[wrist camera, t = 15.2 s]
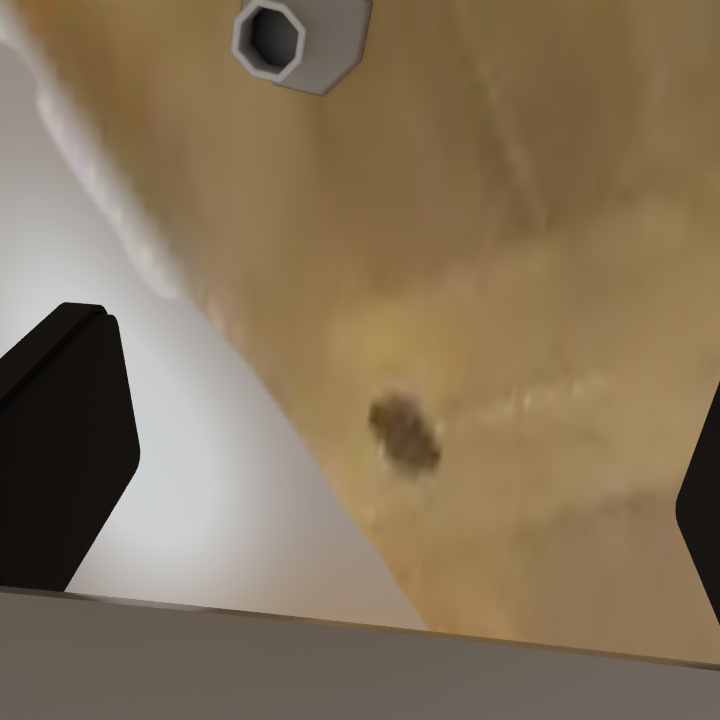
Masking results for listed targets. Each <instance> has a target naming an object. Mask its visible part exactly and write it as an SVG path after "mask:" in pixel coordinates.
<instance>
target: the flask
mask: <svg viewBox="0 0 720 720" xmlns="http://www.w3.org/2000/svg"><path fill="white" fill-rule="evenodd" d="M371 7H372V3H371V1H370V0H242V4H241V12H240V13H239V14H238V15H237V16H236V17H235V18H234V20H233V30H232V40H231V49H230V52H231V53H232V55H233V56H234V57H235V58H236V59H237V60H238V62H239V63H240V64H241V65H242V66H243V67H244V68H245V70H246V71H247V72H248V73H249V74H250V75H251V77H256V78H260V79H264V80H268V81H271V82H272V83H273V85H276V86H280V87H285V88H289V89H293V90H297V91H301V92H306V93H310V94H314V95H318V96H322V97H323V96H324V95H325V94H326V93H328V92H329V91H330V90H331V89H332V88H333V87H334V86H335V85H336V84H337V83H338V82H339V81H340V80H341V79H342V78H343V77H345V76H346V75H347V74H348V73H349V72H350V71H351V70H352V69H353V68H354V67H355V66H356V65H357V64H358V63H359V62H360V61H361V58H362V53H363V48H364V43H365V38H366V33H367V28H368V23H369V17H370V12H371Z"/></svg>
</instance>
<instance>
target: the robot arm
mask: <svg viewBox="0 0 720 720" xmlns="http://www.w3.org/2000/svg"><path fill="white" fill-rule="evenodd" d="M139 460H140V445H139V439H138V434H137V428H136V423H135V417H134V411H133V406H132V400H131V394H130V388H129V383H128V377H127V371H126V366H125V360H124V354H123V349H122V343H121V337H120V332H119V326H118V322H117V319H116V318H115V316H113V315H108V314H107V311H106V310H105V308H104V307H103V306H101V305H95V304H82V303H69V302H64V303H62V304H60V305H59V306H58V307H57V308H56V309H55V310H54V311H53V312H51V313H50V314H49V315H48V316H47V317H46V318H45V319H44V320H43V321H41V322H40V323H39V324H38V325H37V326H36V327H35V328H34V329H33V330H31V331H30V332H29V333H28V334H27V335H26V336H25V337H24V338H22V339H21V340H20V341H19V342H18V343H17V344H16V345H15V346H14V347H12V349H10V350H9V351H8V352H7V353H6V354H5V355H4V356H3V357H2V358H0V720H720V665H719V664H710V663H702V662H693V661H685V660H676V659H667V658H659V657H650V656H641V655H633V654H624V653H616V652H607V651H598V650H590V649H581V648H573V647H564V646H555V645H547V644H538V643H530V642H521V641H512V640H503V639H494V638H485V637H476V636H467V635H459V634H450V633H441V632H432V631H423V630H414V629H404V628H396V627H387V626H377V625H369V624H359V623H349V622H341V621H332V620H322V619H313V618H304V617H295V616H286V615H277V614H267V613H259V612H248V611H240V610H229V609H220V608H211V607H202V606H201V607H200V606H191V605H182V604H173V603H163V602H153V601H144V600H134V599H125V598H116V597H106V596H97V595H87V594H77V593H68V592H64V591H65V589H66V587H67V586H68V584H69V582H70V581H71V579H72V577H73V576H74V574H75V572H76V571H77V569H78V567H79V565H80V564H81V562H82V561H83V559H84V557H85V555H86V554H87V552H88V551H89V549H90V547H91V546H92V544H93V542H94V541H95V539H96V537H97V536H98V534H99V532H100V530H101V529H102V527H103V525H104V524H105V522H106V521H107V519H108V517H109V516H110V514H111V512H112V511H113V509H114V507H115V506H116V504H117V502H118V501H119V499H120V497H121V496H122V494H123V492H124V491H125V489H126V487H127V485H128V484H129V482H130V480H131V479H132V477H133V475H134V474H135V472H136V470H137V467H138V465H139ZM676 520H677V523H678V526H679V528H680V531H681V533H682V535H683V538H684V540H685V543H686V545H687V547H688V550H689V552H690V555H691V557H692V559H693V562H694V564H695V567H696V569H697V571H698V574H699V576H700V579H701V581H702V584H703V586H704V588H705V591H706V593H707V596H708V598H709V600H710V603H711V605H712V608H713V610H714V612H715V615H716V617H717V620H718V622H719V624H720V382H719V385H718V387H717V390H716V393H715V396H714V398H713V401H712V404H711V407H710V409H709V412H708V415H707V418H706V420H705V423H704V426H703V429H702V431H701V434H700V437H699V440H698V442H697V445H696V448H695V450H694V453H693V456H692V459H691V461H690V464H689V467H688V470H687V472H686V475H685V478H684V481H683V483H682V486H681V489H680V492H679V494H678V497H677V501H676Z"/></svg>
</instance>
